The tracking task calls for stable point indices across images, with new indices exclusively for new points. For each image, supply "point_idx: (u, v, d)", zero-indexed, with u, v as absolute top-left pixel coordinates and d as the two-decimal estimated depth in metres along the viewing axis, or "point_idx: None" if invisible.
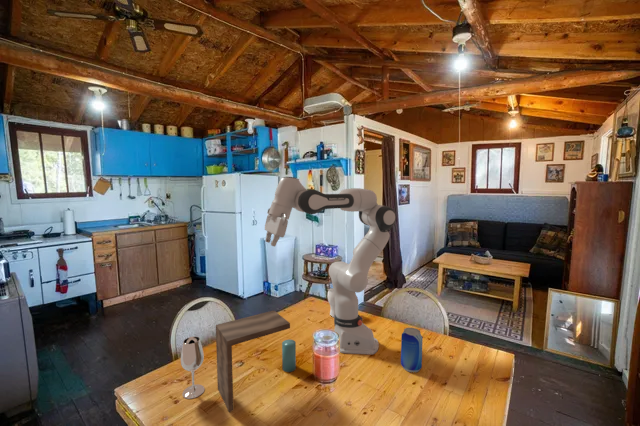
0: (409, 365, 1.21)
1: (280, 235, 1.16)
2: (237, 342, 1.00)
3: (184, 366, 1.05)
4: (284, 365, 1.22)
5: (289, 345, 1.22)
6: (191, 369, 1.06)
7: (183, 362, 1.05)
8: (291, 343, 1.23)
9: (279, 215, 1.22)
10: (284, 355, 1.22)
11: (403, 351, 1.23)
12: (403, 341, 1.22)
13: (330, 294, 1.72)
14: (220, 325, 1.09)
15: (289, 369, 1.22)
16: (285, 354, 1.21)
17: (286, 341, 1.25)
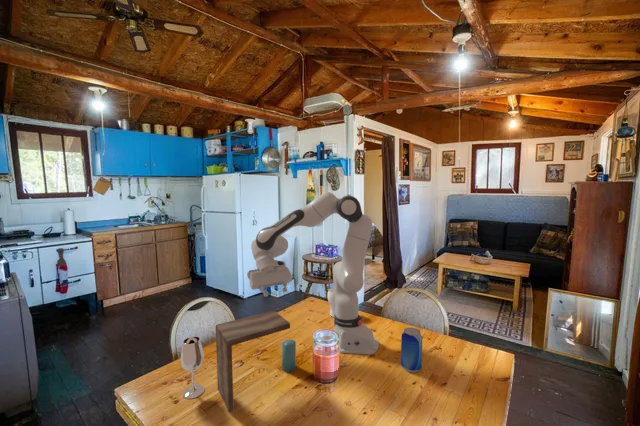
0: (409, 365, 1.21)
1: (252, 287, 1.32)
2: (237, 342, 1.00)
3: (184, 366, 1.05)
4: (284, 365, 1.22)
5: (289, 345, 1.22)
6: (191, 369, 1.06)
7: (183, 362, 1.05)
8: (291, 343, 1.23)
9: None
10: (284, 355, 1.22)
11: (403, 351, 1.23)
12: (403, 341, 1.22)
13: (330, 294, 1.72)
14: (220, 325, 1.09)
15: (289, 369, 1.22)
16: (285, 354, 1.21)
17: (286, 341, 1.25)
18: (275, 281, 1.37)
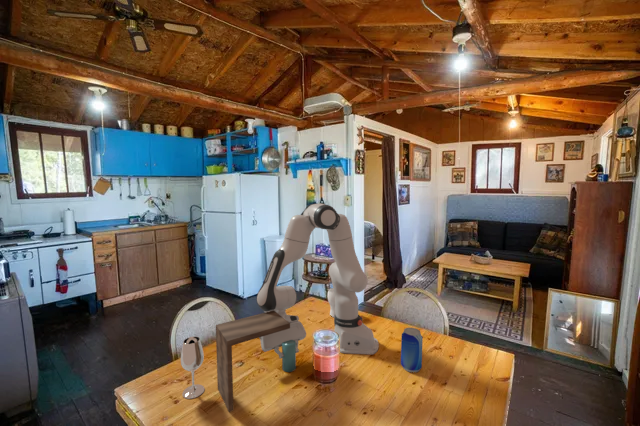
0: (409, 365, 1.21)
1: (264, 349, 1.21)
2: (237, 342, 1.00)
3: (184, 366, 1.05)
4: (284, 365, 1.22)
5: (289, 345, 1.22)
6: (191, 369, 1.06)
7: (183, 362, 1.05)
8: (291, 343, 1.23)
9: None
10: (284, 355, 1.22)
11: (403, 351, 1.23)
12: (403, 341, 1.22)
13: (330, 294, 1.72)
14: (220, 325, 1.09)
15: (289, 369, 1.22)
16: (285, 354, 1.21)
17: (286, 341, 1.25)
18: (288, 340, 1.26)
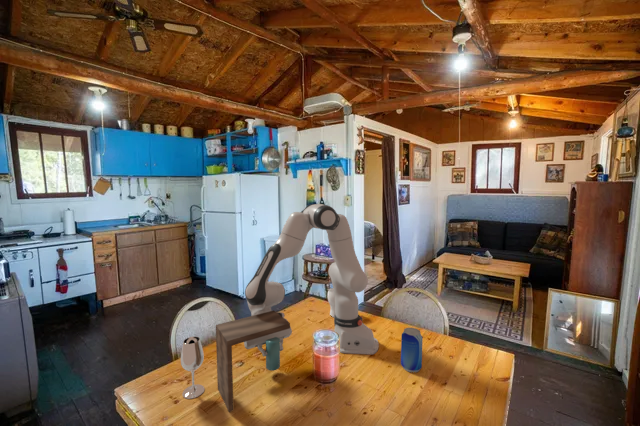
0: (409, 365, 1.21)
1: (246, 347, 1.17)
2: (237, 342, 1.00)
3: (184, 366, 1.05)
4: (267, 363, 1.18)
5: (273, 343, 1.17)
6: (191, 369, 1.06)
7: (183, 362, 1.05)
8: (275, 341, 1.19)
9: None
10: None
11: (403, 351, 1.23)
12: (403, 341, 1.22)
13: (330, 294, 1.72)
14: (220, 325, 1.09)
15: (273, 367, 1.17)
16: (268, 352, 1.17)
17: None
18: None
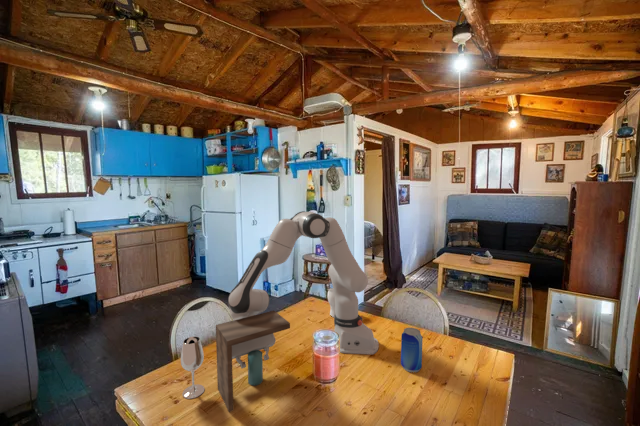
0: (409, 365, 1.21)
1: None
2: (237, 342, 1.00)
3: (184, 366, 1.05)
4: (249, 378, 1.14)
5: (255, 356, 1.13)
6: (191, 369, 1.06)
7: (183, 362, 1.05)
8: (258, 354, 1.15)
9: None
10: (249, 367, 1.13)
11: (403, 351, 1.23)
12: (403, 341, 1.22)
13: (330, 294, 1.72)
14: (220, 325, 1.09)
15: (255, 382, 1.13)
16: (250, 366, 1.13)
17: (252, 352, 1.17)
18: (255, 348, 1.17)
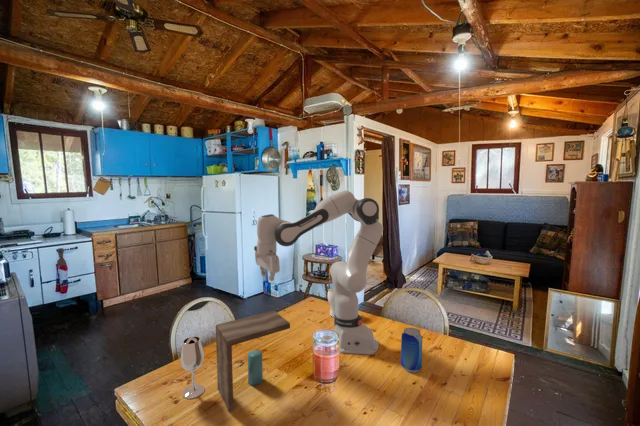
0: (409, 365, 1.21)
1: (276, 271, 1.32)
2: (237, 342, 1.00)
3: (184, 366, 1.05)
4: (249, 378, 1.14)
5: (255, 356, 1.13)
6: (191, 369, 1.06)
7: (183, 362, 1.05)
8: (257, 354, 1.15)
9: (268, 253, 1.35)
10: (249, 367, 1.13)
11: (403, 351, 1.23)
12: (403, 341, 1.22)
13: (330, 294, 1.72)
14: (220, 325, 1.09)
15: (255, 382, 1.13)
16: (250, 366, 1.13)
17: (252, 352, 1.17)
18: None
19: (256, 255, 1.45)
